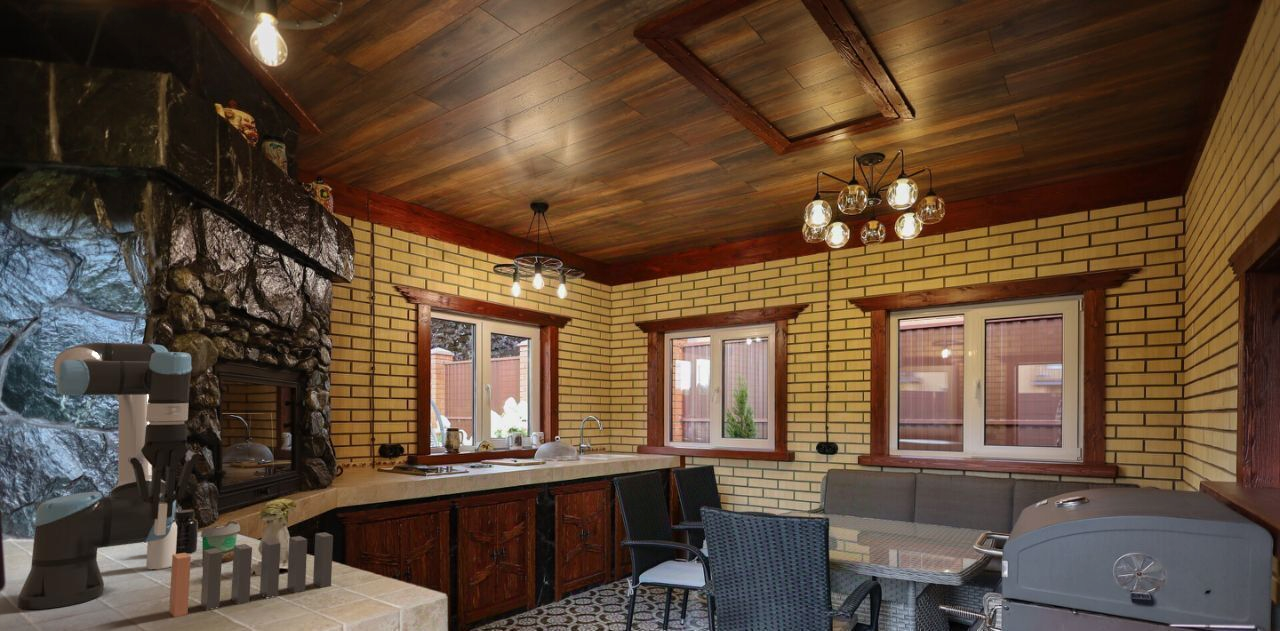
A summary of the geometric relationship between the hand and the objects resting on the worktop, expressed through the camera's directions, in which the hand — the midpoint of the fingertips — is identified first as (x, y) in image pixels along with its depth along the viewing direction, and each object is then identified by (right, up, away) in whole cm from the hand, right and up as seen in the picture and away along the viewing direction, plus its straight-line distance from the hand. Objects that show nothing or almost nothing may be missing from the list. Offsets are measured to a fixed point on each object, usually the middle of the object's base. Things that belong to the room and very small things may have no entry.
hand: (159, 534), depth 149 cm
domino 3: (+12, -18, +9) cm, 24 cm away
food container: (-13, -22, +45) cm, 52 cm away
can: (-27, -21, +39) cm, 52 cm away
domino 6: (+25, -19, +22) cm, 38 cm away
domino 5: (+21, -19, +18) cm, 33 cm away
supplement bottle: (-31, -23, +55) cm, 67 cm away
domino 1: (+3, -17, +1) cm, 18 cm away
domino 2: (+8, -18, +5) cm, 20 cm away
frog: (+6, -21, +37) cm, 43 cm away
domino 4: (+16, -19, +13) cm, 28 cm away
